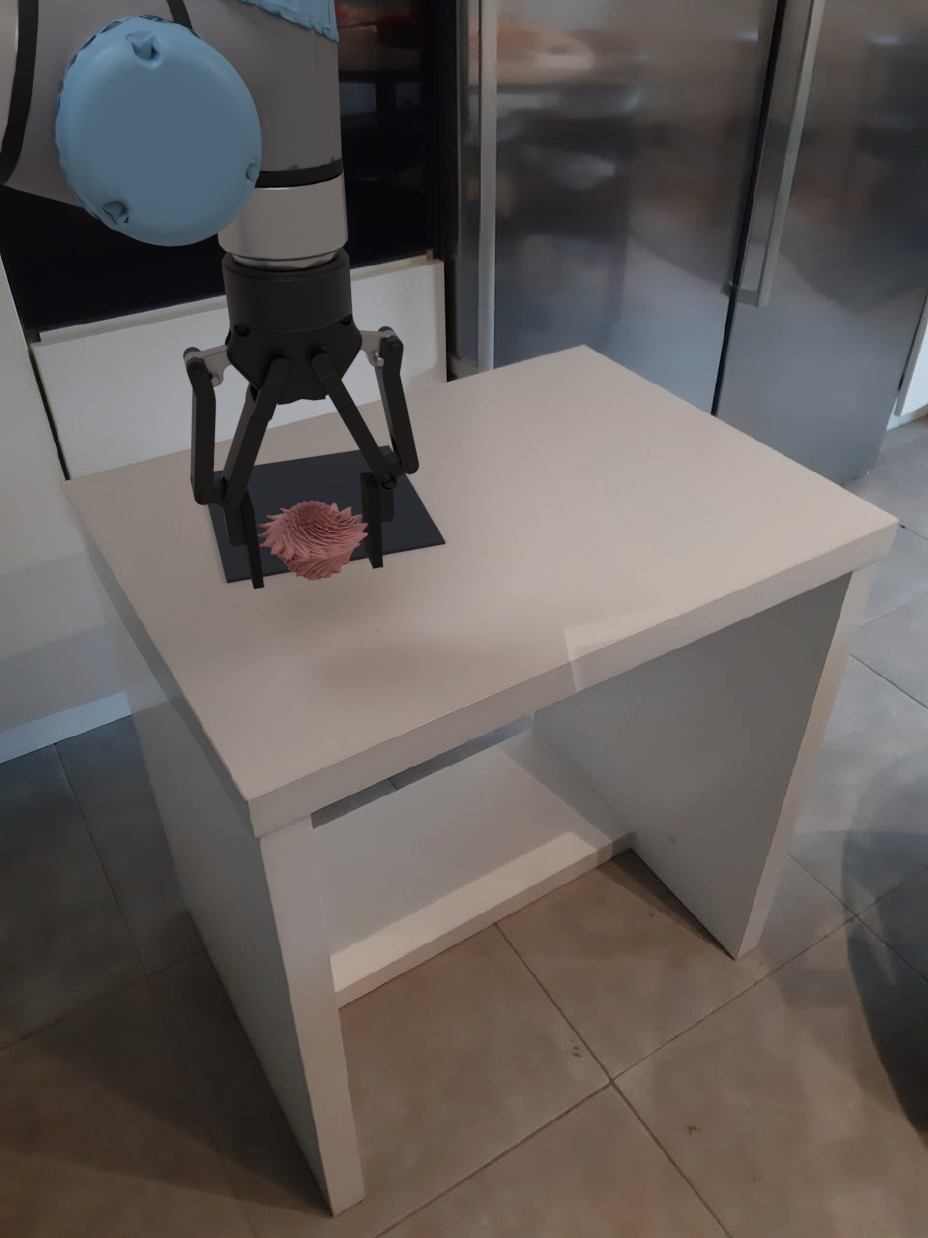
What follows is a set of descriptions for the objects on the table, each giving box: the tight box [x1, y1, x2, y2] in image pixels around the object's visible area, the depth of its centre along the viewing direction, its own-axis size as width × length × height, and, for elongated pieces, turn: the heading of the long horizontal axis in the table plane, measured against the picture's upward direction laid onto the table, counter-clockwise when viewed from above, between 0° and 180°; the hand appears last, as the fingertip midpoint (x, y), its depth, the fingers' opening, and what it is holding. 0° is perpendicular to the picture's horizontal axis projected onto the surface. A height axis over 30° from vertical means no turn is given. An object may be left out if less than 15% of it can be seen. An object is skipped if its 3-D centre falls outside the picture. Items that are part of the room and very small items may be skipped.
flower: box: [257, 500, 368, 582], centre depth 70 cm, size 8×8×6 cm
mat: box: [207, 444, 446, 584], centre depth 96 cm, size 20×20×1 cm
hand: (315, 567), depth 72 cm, fingers closed on flower, 8 cm apart
